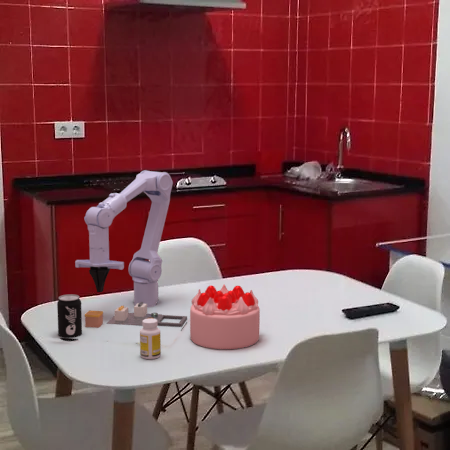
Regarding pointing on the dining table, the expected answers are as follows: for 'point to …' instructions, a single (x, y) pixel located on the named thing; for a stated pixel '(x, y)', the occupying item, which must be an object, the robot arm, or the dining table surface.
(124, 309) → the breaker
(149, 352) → the supplement bottle
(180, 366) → the dining table surface
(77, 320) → the beverage can
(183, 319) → the socket
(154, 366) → the dining table surface
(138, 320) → the panel
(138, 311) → the block
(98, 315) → the copper lidded box
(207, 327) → the cake
